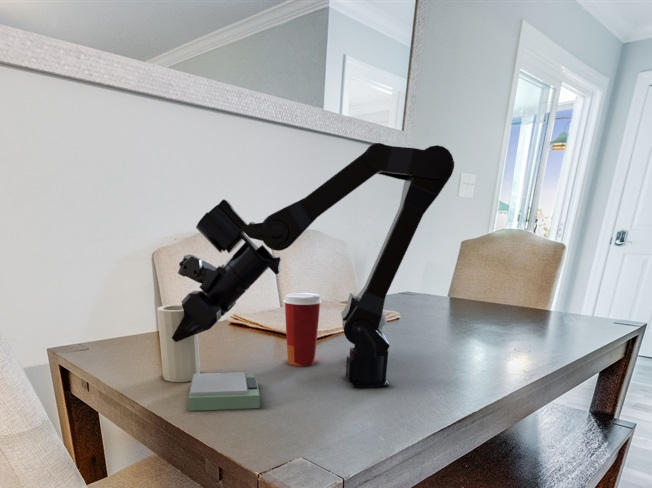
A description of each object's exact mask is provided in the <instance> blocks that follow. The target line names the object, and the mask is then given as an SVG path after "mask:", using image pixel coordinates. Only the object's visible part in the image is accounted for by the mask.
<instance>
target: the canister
mask: <svg viewBox="0 0 652 488" xmlns="http://www.w3.org/2000/svg"><path fill="white" fill-rule="evenodd" d="M156 312H157V313H156V314H157V322H158V323H157V324H158V325H157V326H158V334H159V346H160V358H161V367H162V369H161V370H162V375H163V379H164V380H165V381H167V382H172V383H184V382H185V383H187V382H192V377H193V376H194V374H200V373H201V367H200V366H201V364H200V349H199V333H198V334H195V335H193V336H190V337H188V338H185V339H183V340H181V341H178V342H175V341H174V340H173V339H172V336H173V334H174V333H175V331H176V329H177V327H178V326H179V324H180V322H181V320H182V318H183V316H184V310H183V308H182V304H168V305H162V306H158V307H157V308H156Z"/></svg>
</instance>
